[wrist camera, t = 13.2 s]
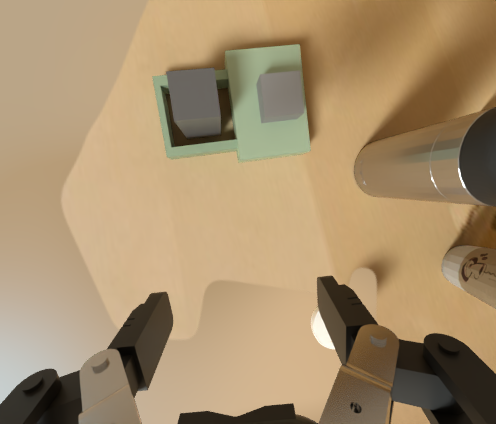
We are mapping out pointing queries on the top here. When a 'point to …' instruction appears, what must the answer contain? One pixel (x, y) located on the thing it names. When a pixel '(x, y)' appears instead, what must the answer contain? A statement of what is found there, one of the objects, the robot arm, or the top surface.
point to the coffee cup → (472, 271)
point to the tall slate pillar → (195, 102)
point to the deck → (253, 106)
